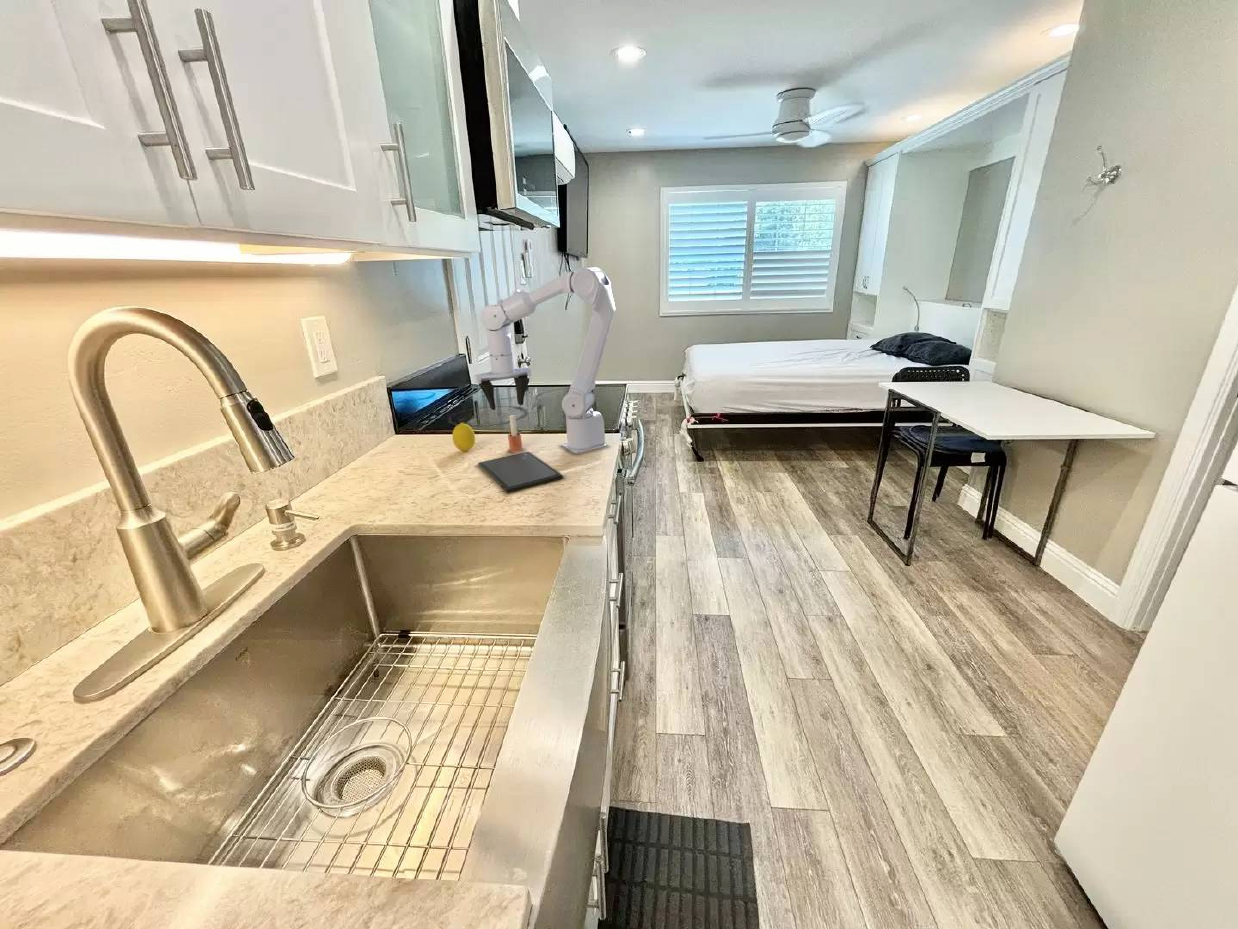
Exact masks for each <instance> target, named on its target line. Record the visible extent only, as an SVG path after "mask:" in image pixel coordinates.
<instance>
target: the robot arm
mask: <svg viewBox="0 0 1238 929" xmlns="http://www.w3.org/2000/svg"><path fill="white" fill-rule="evenodd" d="M562 294H576V296H578V297H579V298H580V299H581V300H582V301H583V302H584V303H585V304H586V306H587V307H588V309H589V311H590V312H591V314H592V315H591V319H590V321H589V322H590V323H589V325H588V329H587V333H586V336H585V341H584V343H583V348H582V351H581V355H580V358H579V362H578V365H577V369H576V372H575V376H574V378H573V380H572V382H571V384H570V386H569V389H568V392H567V393H566V394H565V395H564V396H563V398H562V400H561V408H562V411H563V412H564V414H565V424H566V425H565V426H566V440H567V441H566V442H564V443H561V446H562V447H564V448H565V449H567V450H569V451H570V452H572V453H574V454H579V453H582V452H587V451H590V450H595V449H599V448H603V447H607V444H606V433H605V420H604V417H603V415H602V413H600V411H594V410H593V407H592V406H593V405H594V404H595V401H596V394H595V388H596V385H597V384H596V378H597V375H598V372H599V369H600V365H601V361H602V359H603V356H604V352H605V348H606V345H607V342H608V338H609V334H610V332H611V328H612V325H613V321H614V318H615V315H616V306H615V300H614V297H613V293H612V286H611V281H610V279H609V278H608V276H607V275H606V273H605V272H604V270H602V269H601V268H600V267H595V266H591V267H586V266H584V267H579V268H578V269H576V270H572V271H568V272H566V273H563V274H561V275H559V276H557V277H555V278H553V279H552V280H549V281H548V282H546V283H545V284H543V285H541V286H539V287H537V288H536V289H534V290H531V291H527V290H526V289H522V290H520V289H515V290H513V291H512V294H511V295H510V296H508V297H506V298H504V299H502V298H499V299H497V300H496V302H497V303H496V304H488V305H486V306H485V307H484V308H483V309H482V310H481V311H480V312H481V313H480V322H481V324H482V325H483V326H484V328H485V329H486V331H485V332H486V339H487V346H488V354H489V362H490V371H488V372H487V371H486V372H483V373H478V374H473V378H474V383H475V384H477V385H478V386H479V388H480V389H481V390H482V393H483V394H484V395H485V397H486V400H487V402H488V404H489V409H490V410H491V411H496V402H495V401H496V400H495V385H493V383H492V382H495V381H502V380H509V379H513V381H514V385H515V391H516V401H517V404H518V405H520V406H524V403H525V402H524V400H525V395H526V391H527V388H528V387H529V386H528V385H529V384H530V377H532V369H531V368H529V367H521V368H515V365H514V355H513V346H512V336H511V328H510V326H511V325H512V324H513V323H515V322H518V321H519V320H521V319H524V318H526V317H528V316H530V315H532V314H534V313H535V312H536V309H537V306H538V305H540V304H542V303H544V302H547V301H548V300H551V299H553V298H555V297H557V296H560V295H562Z"/></svg>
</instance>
